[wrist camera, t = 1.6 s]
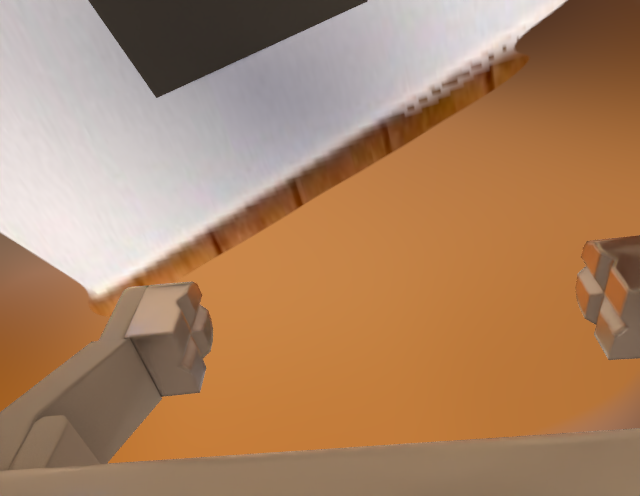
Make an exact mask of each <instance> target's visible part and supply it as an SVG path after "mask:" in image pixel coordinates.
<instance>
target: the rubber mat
mask: <svg viewBox="0 0 640 496" xmlns="http://www.w3.org/2000/svg"><path fill="white" fill-rule="evenodd" d="M367 1H368V0H89V2H90V3H91V5H92V6H93V8H94V9H95V10H96V12H97V13H98V15H99V16H100V18H101V19H102V20H103V22H104V23H105V25H106V26H107V28H108V29H109V30H110V32H111V33H112V35H113V36H114V38H115V39H116V40H117V42H118V43H119V45H120V46H121V48H122V49H123V50H124V52H125V53H126V55H127V56H128V58H129V59H130V60H131V62H132V63H133V65H134V66H135V68H136V69H137V71H138V72H139V73H140V75H141V76H142V78H143V79H144V81H145V82H146V83H147V85H148V86H149V88H150V89H151V91H152V92H153V93H154V95H155V96H156V98H157V97H160V96H162V95H164V94H166V93H168V92H170V91H173V90H175V89H177V88H179V87H181V86H184V85H186V84H188V83H190V82H192V81H194V80H197V79H199V78H201V77H203V76H205V75H208V74H210V73H212V72H214V71H216V70H218V69H221V68H223V67H225V66H227V65H229V64H232V63H234V62H236V61H238V60H240V59H242V58H245V57H247V56H249V55H251V54H253V53H256V52H258V51H260V50H262V49H264V48H266V47H269V46H271V45H273V44H275V43H277V42H280V41H282V40H284V39H286V38H288V37H290V36H293V35H295V34H297V33H299V32H301V31H304V30H306V29H308V28H310V27H312V26H314V25H317V24H319V23H321V22H323V21H325V20H328V19H330V18H332V17H334V16H336V15H338V14H341V13H343V12H345V11H347V10H349V9H352V8H354V7H356V6H358V5H360V4H363V3H365V2H367Z"/></svg>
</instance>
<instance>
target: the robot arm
mask: <svg viewBox="0 0 640 496" xmlns="http://www.w3.org/2000/svg"><path fill="white" fill-rule="evenodd" d="M581 258H582V259H583V261H584V263H585V264H586V267H585V268H584V269H582V270H581V271H580V272H579V273H578V275H577V281H576V295H577V301H578V304H579V307H580V310H581V312H582V313H583V315H584V317H585V319H587V320H589V321H591V322H592V323H594V324H596V329H595V333H594V335H595V337H596V339H597V340H598V342H599V344H600V346H601V347H602V349H603V351H604V353H605V354H606V356H607V358H608V359H609V360H613V359H614V360H615V359H632V358H640V235H639V236H630V237H621V238H612V239H602V240H593V241H587V242H586V244H585V245H584V247H583V251H582V256H581ZM201 297H202V294H201V291H200V289H199V287H198V285H197V284H196V283H194V282H183V283H171V284H158V285H150V286H138V287H129V288H127V289H126V290H124V291H123V293H122V295H121V297H120V299H119V301H118V303H117V305H116V307H115V309H114V311H113V313H112V315H111V317H110V319H109V321H108V323H107V325H106V327H105V329H104V331H103V333H102V335H101V337H100V339H99V341H96V342H91V343H90V344H89V345H87V346H86V347H84V348H83V349H82V350H81V351H79V352H78V353H77V354H75V355H74V356H73V357H71V358H70V359H69V360H68V361H66V362H65V363H64V364H62V365H61V366H60V367H58V368H57V369H56V370H55V371H53V372H52V373H51V374H49V375H48V376H47V377H45V378H44V379H43V380H42V381H40V382H39V383H38V384H36V385H35V386H34V387H33V388H31V389H30V390H29V391H27V392H26V393H25V394H23V395H22V396H21V397H20V398H18V399H17V400H16V401H14V402H13V403H12V404H10V405H9V406H8V407H6V408H5V409H4V410H3V411H1V412H0V496H640V428H639V429H623V430H608V431H593V432H578V433H562V434H547V435H533V436H517V437H503V438H488V439H473V440H457V441H443V442H427V443H412V444H397V445H382V446H367V447H353V448H352V447H351V448H337V449H323V450H322V449H321V450H307V451H291V452H277V453H262V454H247V455H231V456H216V457H201V458H186V459H172V460H156V461H140V462H126V463H112V464H111V463H110V464H107V463H108V461H109V460H110V459H111V458H112V457H113V456H114V454H115V453H116V452H117V451H118V450H119V448H120V447H121V446H122V445H123V444H124V443H125V442H126V440H127V439H128V438H129V437H130V436H131V435H132V433H133V432H134V431H135V430H136V429H137V427H138V426H139V425H140V424H141V423H142V422H143V420H144V419H145V418H146V417H147V416H148V415H149V413H150V412H151V411H152V410H153V409H154V408H155V406H156V405H157V404H158V403H159V402H160V400H161V399H162V398H161V397H163V396H172V395H182V394H191V393H199V392H200V390H201V386H202V382H203V378H204V374H205V370H206V366H205V364H204V361H203V358H204V357H205V356H206V355H207V354H208V353H209V352H210V351H211V346H212V341H213V327H212V321H211V318H210V315H209V312H208V310H207V309H206V308H204V307H203V306H201V305H200V301H201Z"/></svg>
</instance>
